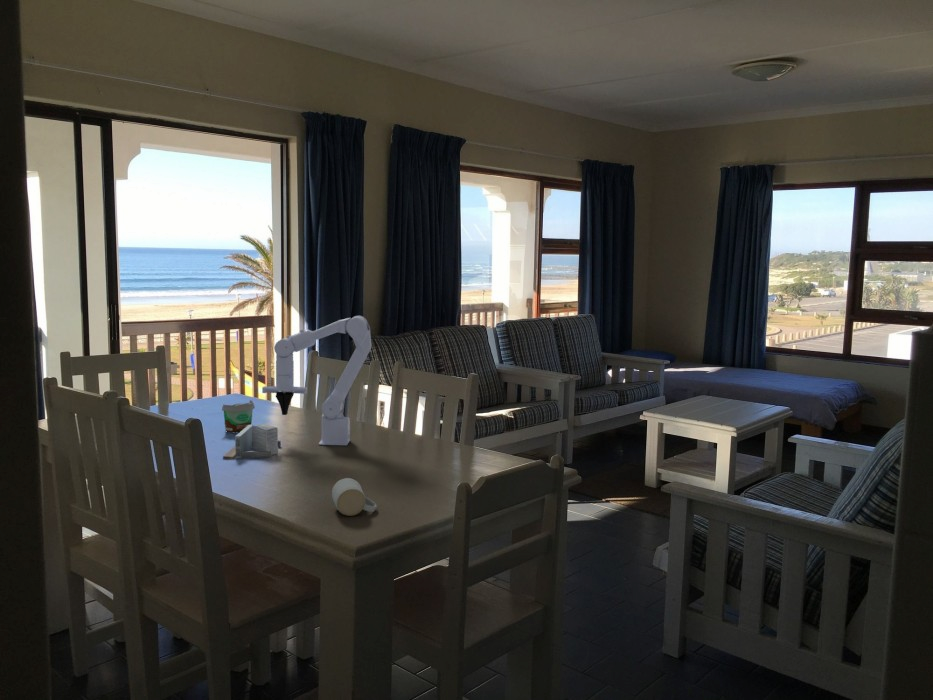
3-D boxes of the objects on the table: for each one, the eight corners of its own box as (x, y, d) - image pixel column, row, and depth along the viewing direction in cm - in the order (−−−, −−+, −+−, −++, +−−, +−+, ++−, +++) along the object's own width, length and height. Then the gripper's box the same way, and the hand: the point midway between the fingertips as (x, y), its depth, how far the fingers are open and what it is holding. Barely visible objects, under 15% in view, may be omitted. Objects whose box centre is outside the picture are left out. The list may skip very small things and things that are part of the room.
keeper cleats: (280, 446, 247) (280, 440, 247) (270, 458, 232) (270, 452, 232) (253, 445, 247) (253, 440, 247) (240, 458, 232) (240, 451, 232)
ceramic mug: (336, 518, 181) (337, 488, 180) (331, 508, 189) (331, 478, 188) (379, 515, 185) (380, 485, 184) (372, 505, 192) (373, 476, 192)
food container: (232, 435, 260) (232, 407, 259) (222, 432, 264) (221, 404, 263) (261, 429, 270) (261, 402, 269) (251, 427, 274) (251, 400, 273)
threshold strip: (248, 444, 248) (248, 442, 248) (233, 459, 231) (232, 456, 231) (239, 444, 248) (239, 442, 248) (223, 458, 231) (223, 456, 230)
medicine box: (278, 454, 238) (278, 427, 237) (266, 456, 235) (266, 429, 234) (263, 449, 243) (263, 423, 242) (251, 451, 240) (251, 425, 239)
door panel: (253, 445, 248) (253, 424, 247) (239, 459, 231) (239, 437, 230) (248, 445, 248) (248, 424, 247) (234, 459, 231) (234, 436, 230)
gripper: (308, 373, 255) (308, 412, 257) (265, 372, 255) (265, 411, 256) (304, 376, 248) (304, 416, 250) (260, 375, 248) (260, 415, 249)
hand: (284, 414), depth 253 cm, fingers closed
